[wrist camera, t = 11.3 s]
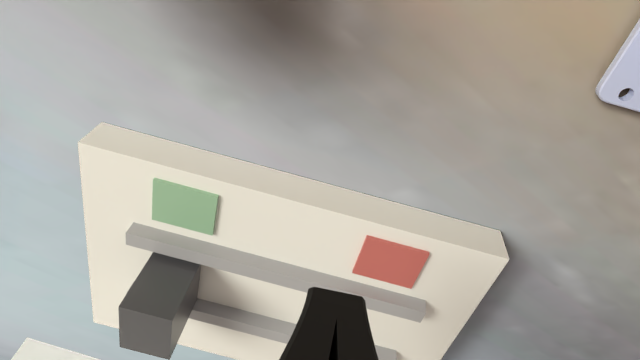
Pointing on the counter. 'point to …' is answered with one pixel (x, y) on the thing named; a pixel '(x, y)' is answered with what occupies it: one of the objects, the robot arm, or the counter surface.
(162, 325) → the handle
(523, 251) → the counter surface
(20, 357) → the milk
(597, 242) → the counter surface
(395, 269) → the slider switch base
